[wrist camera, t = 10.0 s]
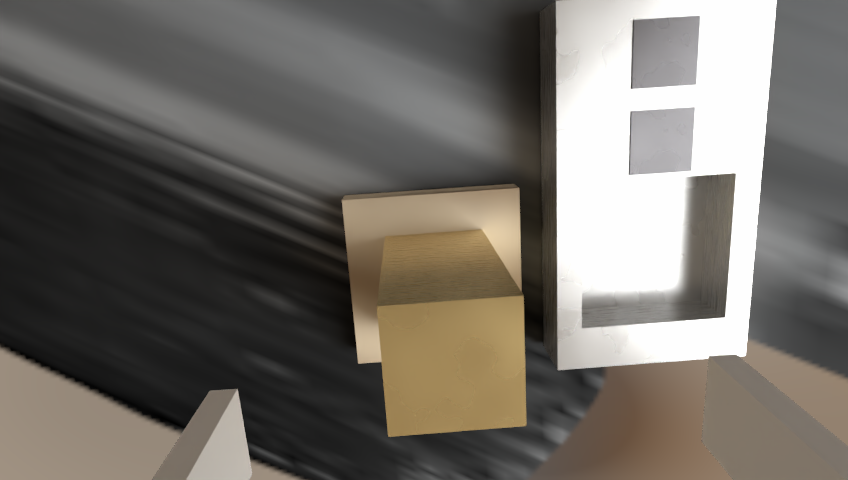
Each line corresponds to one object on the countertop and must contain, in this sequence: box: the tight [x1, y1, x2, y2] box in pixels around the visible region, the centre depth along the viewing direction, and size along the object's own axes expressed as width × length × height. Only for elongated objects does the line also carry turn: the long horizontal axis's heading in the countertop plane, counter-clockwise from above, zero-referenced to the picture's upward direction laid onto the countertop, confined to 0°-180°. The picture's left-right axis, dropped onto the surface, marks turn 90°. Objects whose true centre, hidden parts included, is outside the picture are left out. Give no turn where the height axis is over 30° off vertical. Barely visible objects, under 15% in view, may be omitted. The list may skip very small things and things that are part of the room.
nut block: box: [377, 229, 526, 437], centre depth 24 cm, size 5×5×10 cm
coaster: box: [342, 184, 522, 364], centre depth 30 cm, size 9×9×2 cm
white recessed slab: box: [540, 0, 777, 370], centre depth 28 cm, size 18×10×3 cm, turn 4°
